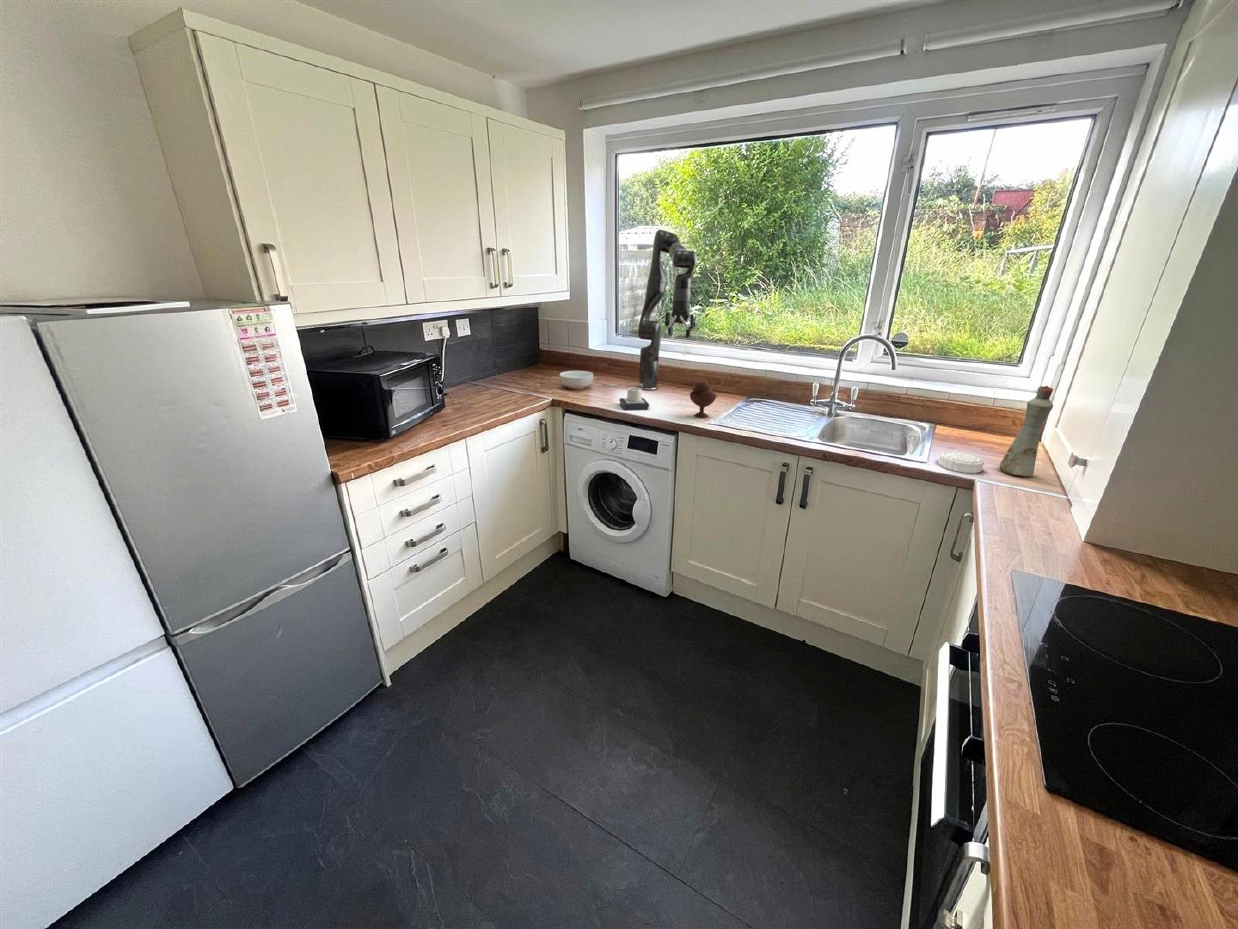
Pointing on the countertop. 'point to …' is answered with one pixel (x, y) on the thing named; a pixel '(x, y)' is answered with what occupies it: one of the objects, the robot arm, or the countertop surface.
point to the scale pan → (633, 402)
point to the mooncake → (961, 462)
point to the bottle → (1028, 436)
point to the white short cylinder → (634, 394)
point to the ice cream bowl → (702, 397)
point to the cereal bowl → (576, 379)
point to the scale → (634, 405)
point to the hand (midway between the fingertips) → (678, 336)
